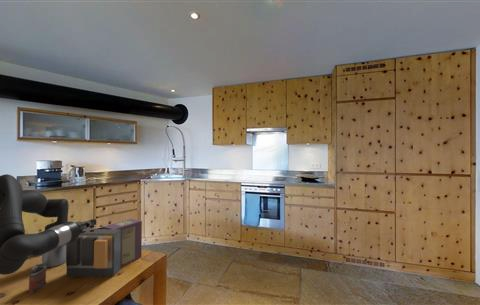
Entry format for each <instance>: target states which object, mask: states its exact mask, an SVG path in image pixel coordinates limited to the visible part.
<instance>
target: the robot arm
mask: <svg viewBox="0 0 480 305" xmlns="http://www.w3.org/2000/svg"><path fill="white" fill-rule="evenodd" d="M69 209H70V208H69V201H68V199H66V198H54V199H53V198H51V199H47V197H46V195H45V194H43V193H41V192H38V191H36V190H32V189H23V186H22V184H21V182H20V181H19V180H18V178H16V177H14V176H13V175H12V174H2V175H0V275H2V276H3V275H5V276H6V275H11V274H14V273H16V272H17V271H19V269H20V268H22V267H23V265H24V263H25V262H26V261H27V259H28V258H29V256H30V255H31V256H33V257H35V256H36V257H38V256H41V263H44V265H43V266H46V267H47V268H52V267H53V268H54V267H58V266H60V265H64V264H66V244H68V243H70V242H72V241H74V240H76V239H77V238H78V236H79V235H80V234H82V233H85V232H86V231H88V230H89V231H90V232H94V229H95V225H97V219H95V218H93V219H89V220H87V221H86V220H83V221H80V220H79V221H75V222H74V221H68V220H69V218H68V217H69ZM23 213H28V214H37V215H38V216H41V217H43V218H57V219H56V221H55V222H51V223H48V224H47V225H45V226H44V230H43V231H40V232H37V233H26V229H25V226H24V220H23V216H22V214H23Z"/></svg>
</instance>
